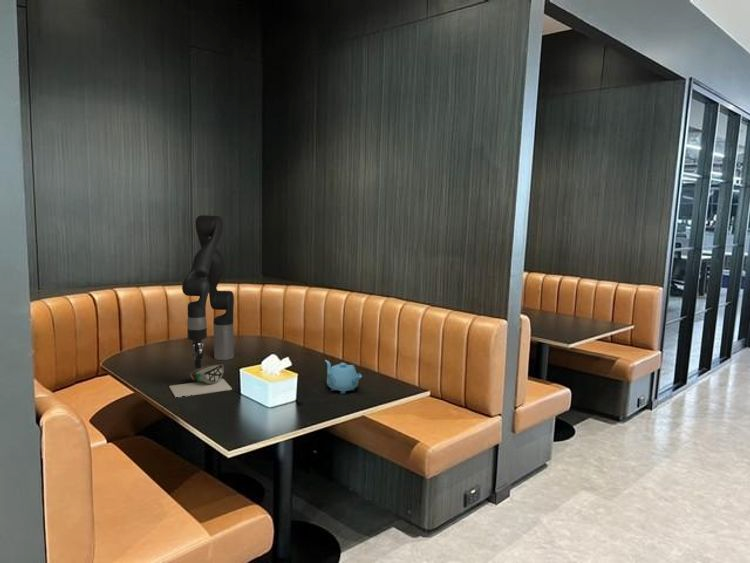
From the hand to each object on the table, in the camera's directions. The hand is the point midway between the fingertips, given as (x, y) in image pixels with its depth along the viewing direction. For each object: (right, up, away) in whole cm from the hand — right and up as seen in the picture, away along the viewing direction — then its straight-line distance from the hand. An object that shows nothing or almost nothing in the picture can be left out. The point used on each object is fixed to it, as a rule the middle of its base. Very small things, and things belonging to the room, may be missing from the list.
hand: (197, 368), depth 226 cm
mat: (+2, -8, -2) cm, 8 cm away
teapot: (+59, -9, 0) cm, 60 cm away
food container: (-2, -5, +6) cm, 8 cm away
